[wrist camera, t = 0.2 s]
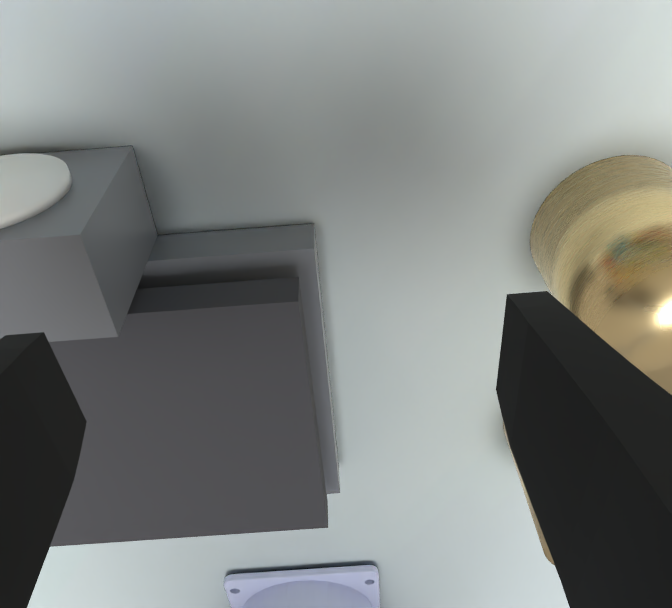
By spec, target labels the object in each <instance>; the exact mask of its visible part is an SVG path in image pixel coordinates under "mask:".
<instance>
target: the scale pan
mask: <svg viewBox="0 0 672 608" xmlns="http://www.w3.org/2000/svg"><path fill="white" fill-rule="evenodd" d="M49 344H50V346H51V348H52V350H53V352H54V354H55V356H56V358H57V360H58V363H59V365H60V367H61V369H62V371H63V373H64V375H65V377H66V379H67V381H68V383H69V386H70V388H71V390H72V392H73V394H74V396H75V398H76V400H77V402H78V404H79V406H80V409H81V411H82V413H83V415H84V417H85V419H86V421H87V423H86V428H85V433H84V438H83V443H82V448H81V453H80V457H79V461H78V465H77V469H76V474H75V478H74V481H73V484H72V487H71V490H70V493H69V496H68V498H67V501H66V504H65V507H64V509H63V512H62V515H61V518H60V520H59V523H58V526H57V529H56V531H55V534H54V537H53V539H52V542H51V544H50V547H51V546H66V545H80V544H95V543H109V542H124V541H139V540H153V539H168V538H182V537H197V536H212V535H226V534H241V533H255V532H270V531H285V530H299V529H314V528H328V506H327V494H326V486H325V478H324V470H323V462H322V455H321V447H320V439H319V431H318V423H317V415H316V407H315V399H314V391H313V384H312V376H311V368H310V360H309V352H308V344H307V336H306V328H305V320H304V313H303V305H302V297H301V289H300V281H299V277H291V278H278V279H264V280H251V281H237V282H224V283H210V284H197V285H184V286H170V287H157V288H143V289H137V290H136V292H135V295H134V298H133V300H132V303H131V305H130V308H129V310H128V313H127V315H126V318H125V321H124V323H123V326H122V328H121V331H120V333H119V336H118V337H109V338H96V339H82V340H68V341H55V342H49Z"/></svg>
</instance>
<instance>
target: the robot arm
mask: <svg viewBox="0 0 672 608" xmlns="http://www.w3.org/2000/svg"><path fill="white" fill-rule="evenodd" d="M496 391H497V395H498V400H499V404H500V408H501V413H502V417H503V421H504V425H505V429H506V433H507V437H508V441H509V445H510V448H511V451H512V454H513V456H514V459H515V462H516V464H517V467H518V470H519V472H520V475H521V478H522V480H523V483H524V486H525V488H526V491H527V494H528V496H529V499H530V501H531V504H532V507H533V509H534V512H535V514H536V517H537V520H538V522H539V525H540V527H541V530H542V533H543V535H544V538H545V541H546V543H547V546H548V548H549V551H550V554H551V556H552V559H553V561H554V564H555V567H556V569H557V572H558V574H559V577H560V580H561V583H562V586H563V589H564V591H565V594H566V597H567V600H568V603H569V606H570V608H672V395H671V394H670V393H668V392H667V391H666V390H665V389H663V388H662V387H661V386H659V385H658V384H657V383H656V382H654V381H653V380H652V379H650V378H649V377H648V376H647V375H645V374H644V373H643V372H642V371H640V370H639V369H638V368H637V367H636V366H634V365H633V364H632V363H631V362H629V361H628V360H627V359H626V358H625V357H623V356H622V355H621V354H620V353H619V352H617V351H616V350H615V349H614V348H613V347H611V346H610V345H609V344H608V343H607V342H606V341H604V340H603V339H602V338H601V337H600V336H599V335H597V334H596V333H595V332H594V331H593V330H592V329H590V328H589V327H588V326H587V325H586V324H585V323H583V322H582V321H581V320H580V319H579V318H578V317H577V316H575V315H574V314H573V313H572V312H571V311H570V310H569V309H567V308H566V307H565V306H564V305H563V304H562V303H561V302H559V301H558V300H557V299H556V298H555V297H553V296H552V295H551V294H550V293H549V292H547V291H543V292H531V293H519V294H507V299H506V308H505V317H504V326H503V334H502V343H501V352H500V360H499V369H498V378H497V386H496ZM86 423H87V421H86V419H85V417H84V415H83V413H82V411H81V409H80V406H79V404H78V402H77V400H76V398H75V396H74V394H73V392H72V390H71V388H70V386H69V383H68V381H67V379H66V377H65V375H64V373H63V371H62V369H61V367H60V365H59V363H58V360H57V358H56V356H55V354H54V352H53V350H52V348H51V346H50V344H49V342H48V340H47V337H46V335H45V333H44V332H40V333H27V334H15V335H5V336H4V337H2V338H1V339H0V608H27V606H28V603H29V600H30V598H31V595H32V592H33V590H34V587H35V584H36V582H37V579H38V576H39V574H40V571H41V568H42V566H43V563H44V560H45V558H46V555H47V552H48V550H49V547H50V544H51V542H52V539H53V537H54V534H55V531H56V529H57V526H58V523H59V520H60V518H61V515H62V512H63V509H64V507H65V504H66V501H67V498H68V496H69V493H70V490H71V487H72V484H73V481H74V478H75V474H76V469H77V465H78V461H79V457H80V453H81V448H82V443H83V438H84V433H85V428H86ZM224 588H225V591H226V593H227V596H228V599H229V602H230V605H231V608H380V590H379V572H378V568H377V567H375V566H373V565H360V566H345V567H331V568H316V569H301V570H286V571H271V572H257V573H242V574H231V575H228V576H226V577H225V579H224Z"/></svg>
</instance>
